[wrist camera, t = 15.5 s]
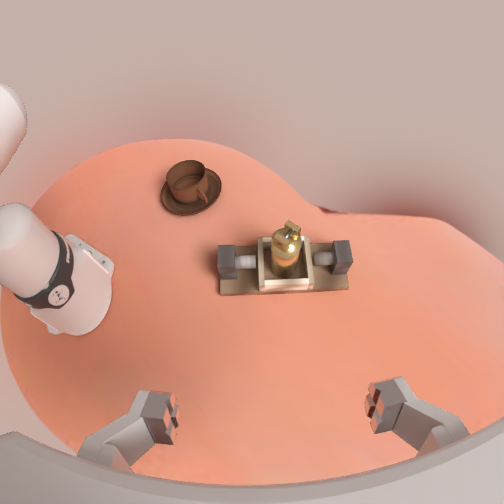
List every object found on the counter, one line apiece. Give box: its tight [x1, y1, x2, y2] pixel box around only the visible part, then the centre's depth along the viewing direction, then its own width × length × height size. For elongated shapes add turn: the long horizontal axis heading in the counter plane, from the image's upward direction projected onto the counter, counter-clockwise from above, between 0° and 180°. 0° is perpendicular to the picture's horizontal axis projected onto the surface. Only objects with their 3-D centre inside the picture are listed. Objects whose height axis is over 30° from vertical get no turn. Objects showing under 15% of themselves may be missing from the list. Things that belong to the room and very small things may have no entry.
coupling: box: [271, 220, 302, 279], centre depth 41 cm, size 4×4×10 cm
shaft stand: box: [217, 236, 353, 296], centre depth 43 cm, size 20×8×6 cm, turn 91°
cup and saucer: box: [161, 160, 221, 215], centre depth 52 cm, size 12×12×6 cm
